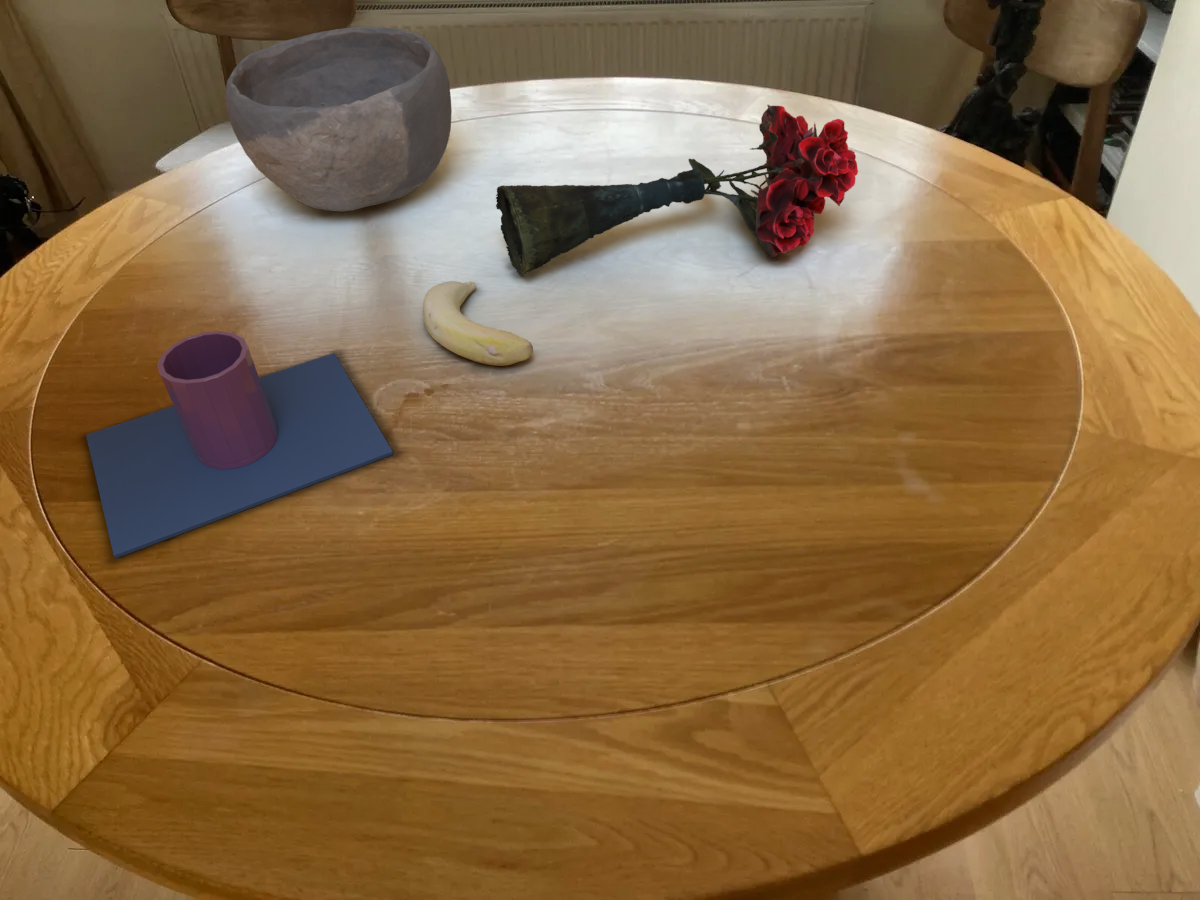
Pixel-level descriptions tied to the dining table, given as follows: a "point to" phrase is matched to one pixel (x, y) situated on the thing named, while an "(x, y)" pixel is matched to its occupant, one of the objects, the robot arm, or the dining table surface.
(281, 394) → the rectangular board
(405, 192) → the bowl
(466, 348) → the fruit
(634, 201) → the vase with red roses
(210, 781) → the dining table surface
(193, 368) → the cup
